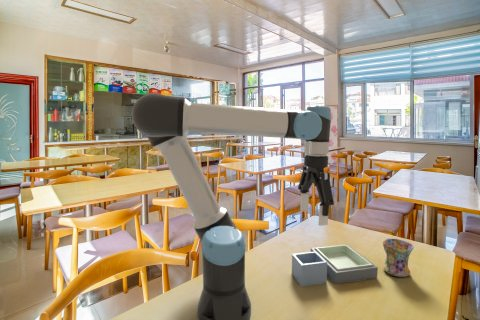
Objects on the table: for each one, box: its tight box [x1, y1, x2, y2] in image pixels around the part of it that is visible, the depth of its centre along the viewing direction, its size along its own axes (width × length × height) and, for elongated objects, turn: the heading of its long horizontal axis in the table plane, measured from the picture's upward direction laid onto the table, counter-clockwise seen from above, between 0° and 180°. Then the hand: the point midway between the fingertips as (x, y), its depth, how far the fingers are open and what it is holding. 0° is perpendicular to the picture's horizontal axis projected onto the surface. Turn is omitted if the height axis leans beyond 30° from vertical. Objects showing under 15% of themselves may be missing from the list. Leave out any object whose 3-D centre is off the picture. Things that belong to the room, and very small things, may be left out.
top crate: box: [314, 244, 372, 271], centre depth 106 cm, size 13×16×4 cm
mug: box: [382, 238, 414, 278], centre depth 104 cm, size 12×9×11 cm
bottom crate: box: [310, 243, 379, 285], centre depth 107 cm, size 16×19×4 cm
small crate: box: [291, 251, 328, 287], centre depth 99 cm, size 9×8×8 cm
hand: (312, 217), depth 97 cm, fingers open, 13 cm apart
